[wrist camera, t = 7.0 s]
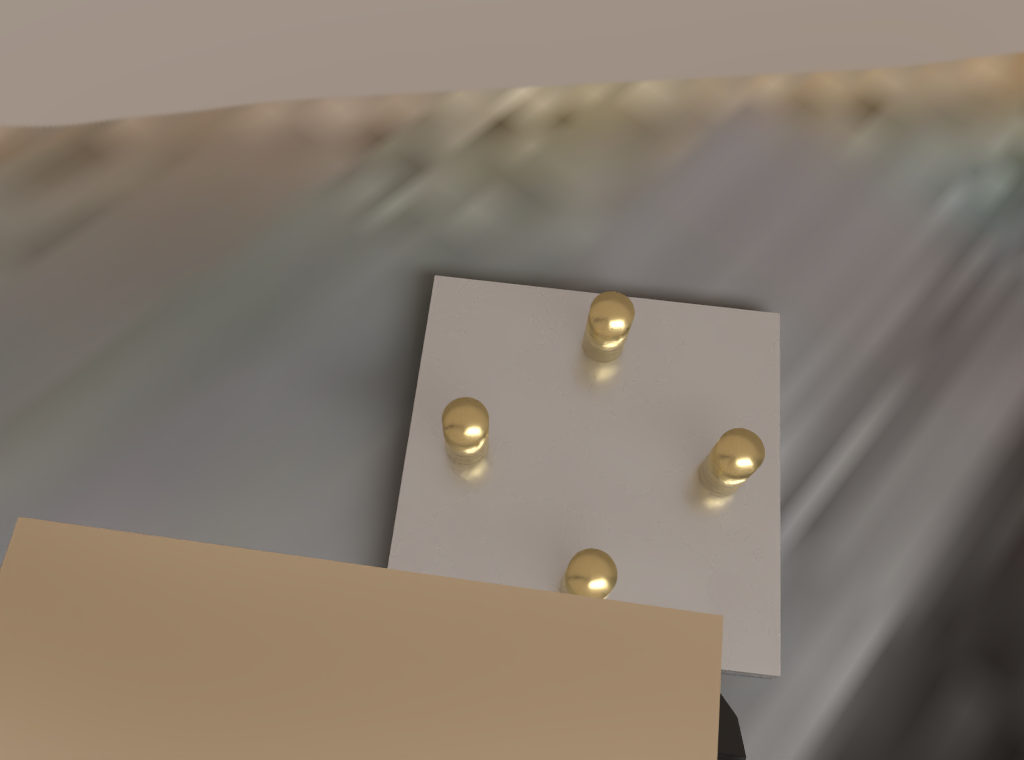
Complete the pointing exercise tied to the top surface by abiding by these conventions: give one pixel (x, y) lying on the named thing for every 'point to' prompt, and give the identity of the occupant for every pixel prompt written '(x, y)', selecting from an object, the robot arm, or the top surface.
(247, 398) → the top surface
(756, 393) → the plate
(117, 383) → the top surface
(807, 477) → the top surface
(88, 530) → the block
